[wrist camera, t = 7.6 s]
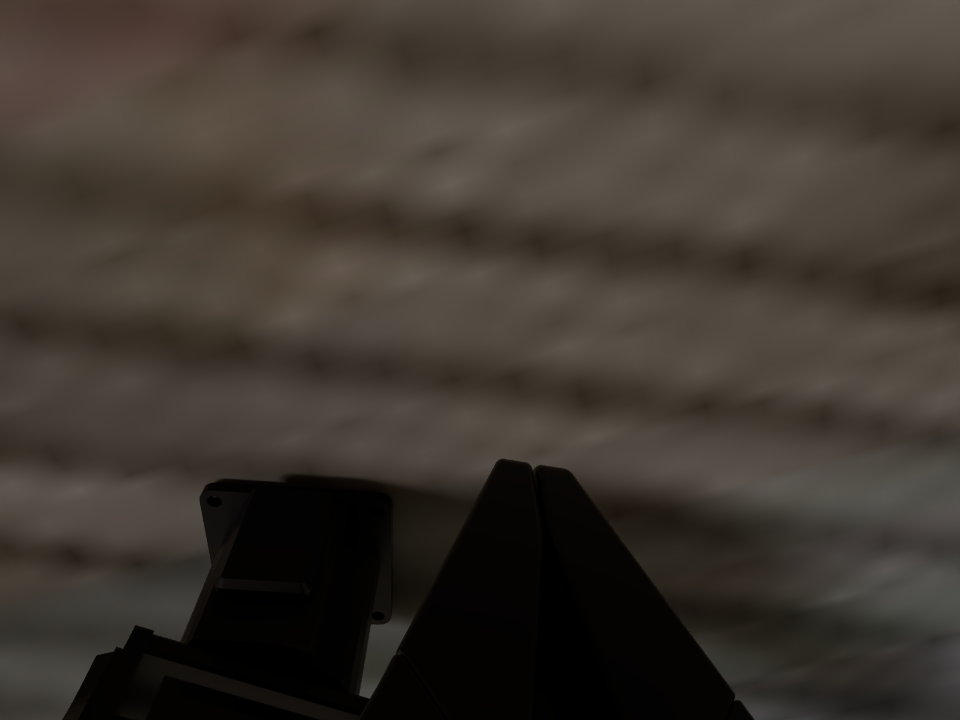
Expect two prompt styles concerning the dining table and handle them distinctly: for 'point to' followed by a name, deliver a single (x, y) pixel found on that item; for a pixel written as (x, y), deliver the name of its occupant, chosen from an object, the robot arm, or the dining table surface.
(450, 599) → the robot arm
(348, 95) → the dining table surface
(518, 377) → the dining table surface
